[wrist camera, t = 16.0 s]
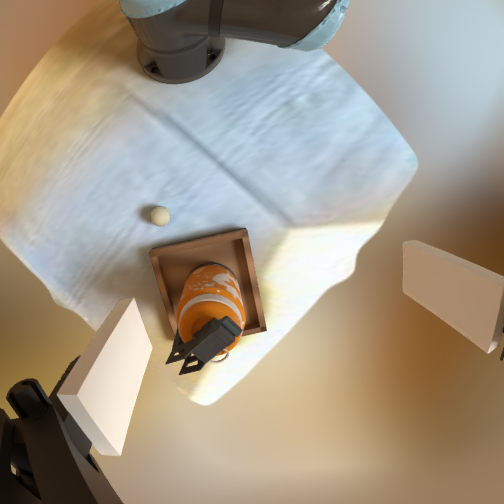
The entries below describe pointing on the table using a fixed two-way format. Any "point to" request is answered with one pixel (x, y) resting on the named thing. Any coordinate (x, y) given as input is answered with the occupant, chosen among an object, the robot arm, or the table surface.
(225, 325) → the canister
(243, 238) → the tray
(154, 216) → the ball
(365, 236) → the table surface
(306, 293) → the table surface
